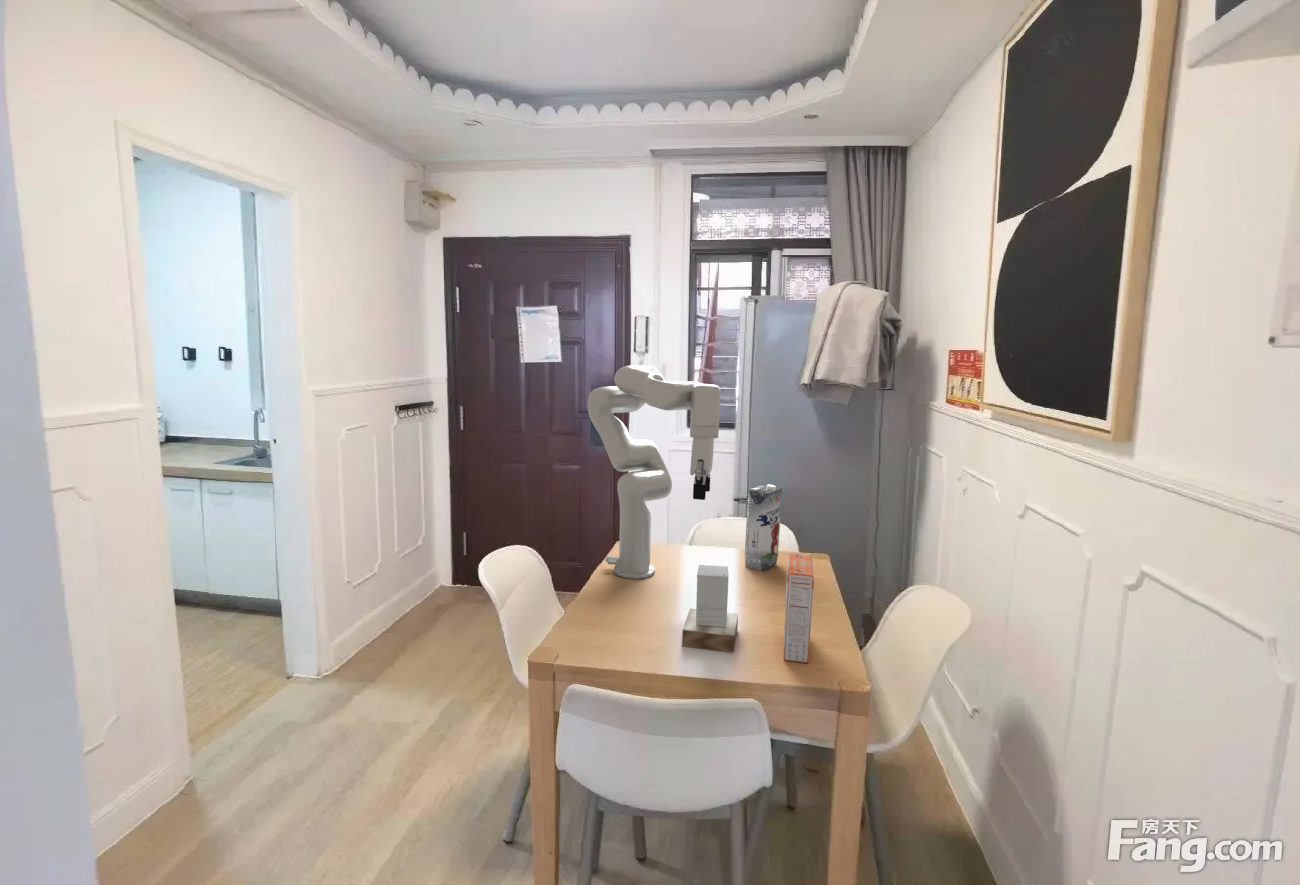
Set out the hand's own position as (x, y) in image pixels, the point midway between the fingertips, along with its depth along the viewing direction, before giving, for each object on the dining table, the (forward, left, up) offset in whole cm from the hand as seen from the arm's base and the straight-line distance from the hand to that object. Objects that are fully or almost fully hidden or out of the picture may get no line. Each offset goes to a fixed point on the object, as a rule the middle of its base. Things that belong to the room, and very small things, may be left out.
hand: (701, 495), depth 167 cm
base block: (+6, -20, -30) cm, 37 cm away
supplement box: (+6, -20, -26) cm, 33 cm away
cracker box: (+26, -20, -31) cm, 45 cm away
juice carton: (+16, +35, -31) cm, 49 cm away
